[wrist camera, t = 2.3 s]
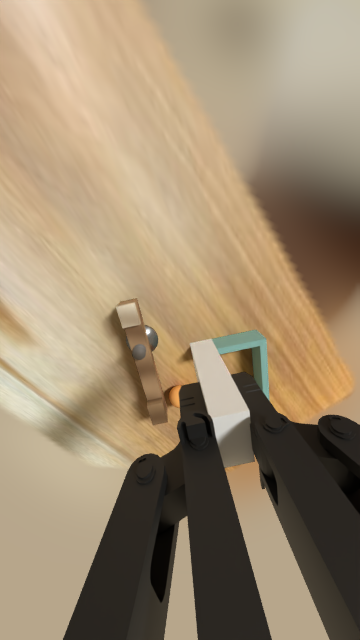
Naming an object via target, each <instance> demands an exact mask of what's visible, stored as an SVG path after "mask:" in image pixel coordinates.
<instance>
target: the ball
mask: <svg viewBox="0 0 360 640" xmlns="http://www.w3.org/2000/svg"><path fill="white" fill-rule="evenodd" d="M180 388H181V385H178V386H175V387H173V388H172V389H171V391H170V394H169V400H170V402H171V404H172V405H173V406H175V407H177V408H180V404H179V391H180Z"/></svg>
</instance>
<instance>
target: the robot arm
mask: <svg viewBox="0 0 360 640" xmlns="http://www.w3.org/2000/svg"><path fill="white" fill-rule="evenodd" d="M190 347H191V352H192V356H193V361H194V366H195V371H196V376H197V380H198V382H197V383H192V384H188V385H183V386H181V388H180V391H179V404H180V415H181V418H180V420H179V421H178V425H177V430H178V434H179V438H180V442H179V444H178V445H177V446H176V448H175V449H174V450H172V451H171V452H169V453H167V454H166V455H164V456H162V457H159V456H158V455H156V454H145V455H143V456H141V457H139V458H137V459H136V460H135V461H134V462H133V463H132V465H131V466H130V468H129V470H128V472H127V474H126V477H125V480H124V482H123V485H122V487H121V490H120V493H119V495H118V498H117V500H116V503H115V506H114V508H113V511H112V514H111V516H110V519H109V521H108V524H107V526H106V529H105V532H104V534H103V537H102V539H101V542H100V545H99V547H98V550H97V552H96V555H95V558H94V560H93V563H92V565H91V568H90V571H89V573H88V576H87V578H86V581H85V584H84V587H83V589H82V591H81V594H80V597H79V599H78V602H77V605H76V607H75V610H74V612H73V615H72V617H71V620H70V623H69V625H68V628H67V630H66V633H65V636H64V638H63V640H164V634H165V626H166V619H167V611H168V603H169V596H170V588H171V580H172V573H173V565H174V558H175V549H176V542H177V535H178V527H179V521H180V520H181V519H183V518H184V517H186V516H188V528H189V540H190V552H191V563H192V575H193V587H194V598H195V610H196V621H197V634H198V640H272V639H271V635H270V631H269V628H268V624H267V620H266V617H265V613H264V610H263V606H262V603H261V599H260V595H259V591H258V588H257V584H256V581H255V577H254V573H253V570H252V566H251V562H250V559H249V556H248V552H247V548H246V544H245V541H244V537H243V533H242V530H241V526H240V523H239V519H238V515H237V512H236V508H235V504H234V501H233V497H232V494H231V490H230V486H229V483H228V480H227V475H226V472H225V468H226V467H231V466H236V465H240V464H245V463H250V462H254V461H255V459H254V455H255V457H256V459H257V461H258V464H259V471H260V482H261V486H262V489H265V488H266V490H267V492H268V495H269V497H270V499H271V501H272V503H273V506H274V509H275V511H276V514H277V516H278V518H279V521H280V523H281V525H282V528H283V530H284V532H285V535H286V537H287V540H288V542H289V544H290V547H291V548H292V551H293V553H294V556H295V559H296V561H297V563H298V566H299V568H300V570H301V573H302V575H303V577H304V580H305V582H306V585H307V587H308V589H309V592H310V594H311V596H312V599H313V601H314V603H315V606H316V608H317V611H318V613H319V615H320V617H321V620H322V622H323V625H324V627H325V630H326V632H327V634H328V637H329V639H330V640H360V425H359V424H357V423H356V422H354V421H352V420H350V419H348V418H345V417H342V416H339V415H326V416H322V417H321V418H320V419H319V421H318V425H312V424H301V423H295V422H292V421H290V420H289V419H288V418H287V417H286V416H284V415H282V414H280V413H278V412H277V411H276V410H275V408H274V407H273V405H272V404H271V403H270V401H269V400H268V398H267V397H266V395H265V394H264V393H263V391H262V390H261V388H260V387H259V385H258V384H257V383H256V381H255V380H254V378H253V377H252V376H251V375H249V374H247V373H246V372H241V373H237V374H232V375H230V373H229V371H228V369H227V367H226V365H225V364H224V362H223V360H222V358H221V356H220V354H219V352H218V350H217V348H216V347H215V345H214V343H213V341H212V339H208V340H203V341H198V342H194V343H190Z"/></svg>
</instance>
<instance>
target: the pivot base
mask: <svg viewBox="0 0 360 640" xmlns="http://www.w3.org/2000/svg"><path fill="white" fill-rule="evenodd" d="M144 326H145V329H146V333H147V336H148V340H149V344H150V347H151V351H153V350H154V349H155V348H156V347H157V344H158V336H157V333H156V332H155V330H154V329H152V328H151V327H149V326H147V325H144ZM126 343H127V346H128V347H129V349H130V350H131V348H130V344H129V341H128V338H127V336H126Z"/></svg>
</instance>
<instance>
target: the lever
mask: <svg viewBox="0 0 360 640" xmlns="http://www.w3.org/2000/svg"><path fill="white" fill-rule="evenodd" d="M116 309H117V313H118V316H119V319H120V322H121V325H122V328H124V329H125V332H126V335H127V338H128V341H129V344H130V348H131V351H132V356H133V357H134V360H135V363H136V366H137V370H138V373H139V376H140V379H141V382H142V385H143V389H144V392H145V395H146V398H147V409H148V412H149V415H150V418H151V421H152V424H153V425H157V424H161V423H166V422H168V420H167V405H166V401H165V398H164V394H163V390H162V387H161V383H160V380H159V376H158V372H157V369H156V365H155V362H154V358H153V354H152V351H151V347H150V344H149V340H148V336H147V333H146V329H145V326H144V322H143V318H142V315H141V311H140V308H139V304H138V300H137V298H136V299H131V300H126V301H122V302H120V303H119V304H118V305H117V306H116Z"/></svg>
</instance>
